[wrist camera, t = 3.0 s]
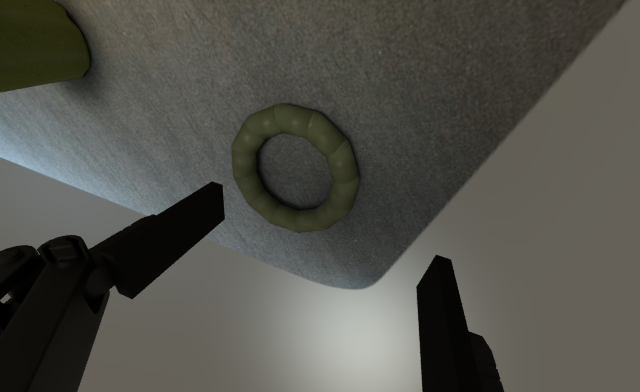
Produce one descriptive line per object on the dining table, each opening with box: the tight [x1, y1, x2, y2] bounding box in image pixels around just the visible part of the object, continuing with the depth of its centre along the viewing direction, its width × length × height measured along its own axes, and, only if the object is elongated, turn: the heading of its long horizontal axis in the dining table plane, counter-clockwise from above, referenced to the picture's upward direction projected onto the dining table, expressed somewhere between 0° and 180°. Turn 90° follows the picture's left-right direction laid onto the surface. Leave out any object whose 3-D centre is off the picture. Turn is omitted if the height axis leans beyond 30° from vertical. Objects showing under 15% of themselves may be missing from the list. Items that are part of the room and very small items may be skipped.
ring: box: [232, 103, 360, 233], centre depth 19 cm, size 11×11×2 cm
